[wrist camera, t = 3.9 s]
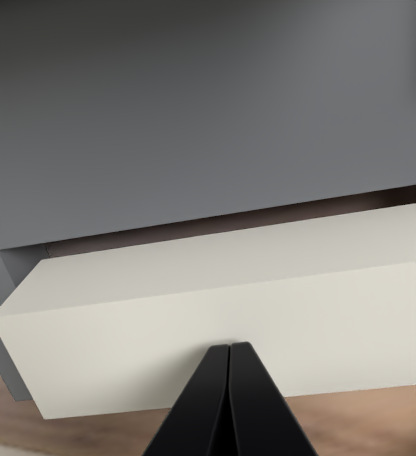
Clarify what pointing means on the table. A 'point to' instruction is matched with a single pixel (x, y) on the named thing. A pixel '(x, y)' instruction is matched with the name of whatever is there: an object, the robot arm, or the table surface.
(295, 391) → the button white
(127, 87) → the panel
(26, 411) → the table surface
